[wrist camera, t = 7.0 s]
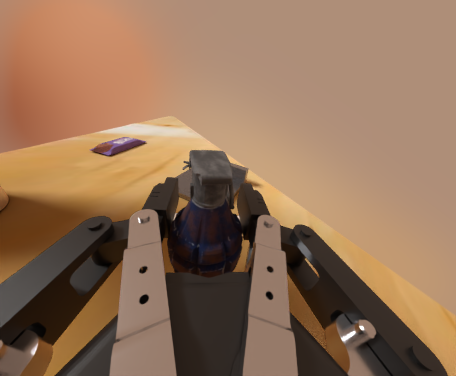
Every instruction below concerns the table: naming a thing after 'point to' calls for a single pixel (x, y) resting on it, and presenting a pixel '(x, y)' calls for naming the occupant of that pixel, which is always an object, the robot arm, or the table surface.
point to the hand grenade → (207, 220)
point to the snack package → (117, 145)
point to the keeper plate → (237, 179)
